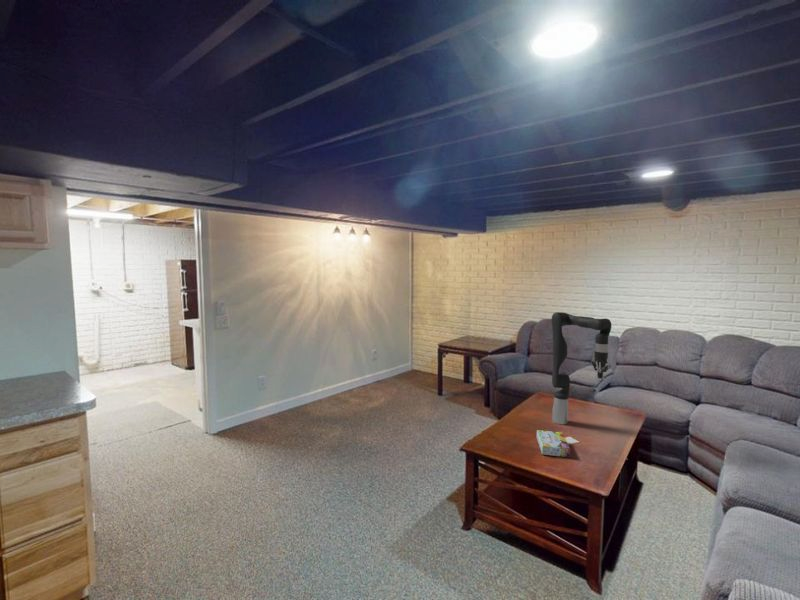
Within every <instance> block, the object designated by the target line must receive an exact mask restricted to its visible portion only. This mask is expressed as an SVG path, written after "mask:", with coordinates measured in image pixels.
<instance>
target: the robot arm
mask: <svg viewBox="0 0 800 600" xmlns="http://www.w3.org/2000/svg"><path fill="white" fill-rule="evenodd" d="M565 326H577V327H580V328H584V329H585V328H586V329H592V330H595V331H599V332H598V333H597V334H596V335H595V344H594V355H593V357H594V360H593V361H591V364H592V367H593V369H594V370H595V371H596V372H597V379H603V377H604V373H606V372H607V371H608V370H609V369H610V368H611V365H609V364H608V358H609V336H610V333H611V330H612V322H611V320H610V319H609V318H606V317H605V318H594V317H591V316H583V315H582V316H579V315H578V316H577V315H573V314H570V313H566V312H561V311H560V312H559V311H558V312H557V311H556V312H554V313H553V314H552V315H551V327H552V328H551V330H552V374H551V375H552V376H551V384H552V387H553V388H555V389H556V388H557V389H559V390H557V391H555V392H554V393H553V406H552V411H551V421H552V422H553V423H555V424H557V425H567V424H568V420H569V396H570V386H571V384H570V383H571V379H570V375H568V374H564V373H563V374H562V373H559V370H560V367H562V364H563V363H564V362H565V361H566V359H567V357H568V344H567V342H566V339H565V336H564V335H563V328H562V327H565Z"/></svg>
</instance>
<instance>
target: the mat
mask: <svg viewBox="0 0 800 600" xmlns="http://www.w3.org/2000/svg"><path fill="white" fill-rule="evenodd" d="M564 437H565V436H564ZM565 439H566V441H567V443H568V445H569V446H570V445H573V444H579V443H581V442H580V441H579V440H577V439H575V438H573V437H572V436H566V437H565Z"/></svg>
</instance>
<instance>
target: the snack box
mask: <svg viewBox="0 0 800 600" xmlns="http://www.w3.org/2000/svg"><path fill="white" fill-rule="evenodd" d="M536 440H537V443H538V446H539V449H540V452H541V455H545V456H553V457H554V456H555V457H564V458H571V447H570V444H569V445H568V443H567V441H566V439H565V435H564V433H563V432H560V431H549V430H541V429H537V430H536Z"/></svg>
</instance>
